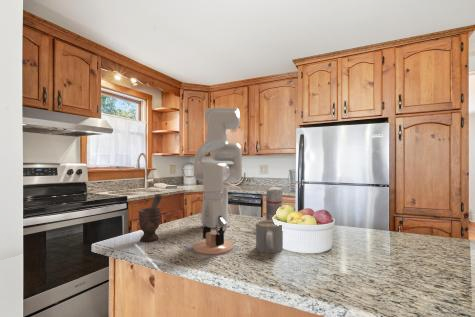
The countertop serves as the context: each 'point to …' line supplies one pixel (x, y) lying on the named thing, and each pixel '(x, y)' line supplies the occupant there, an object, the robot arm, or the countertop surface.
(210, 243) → the lid
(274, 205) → the spray can
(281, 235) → the coffee mug
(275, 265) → the countertop surface
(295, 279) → the countertop surface
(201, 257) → the mat
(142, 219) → the mortar and pestle
